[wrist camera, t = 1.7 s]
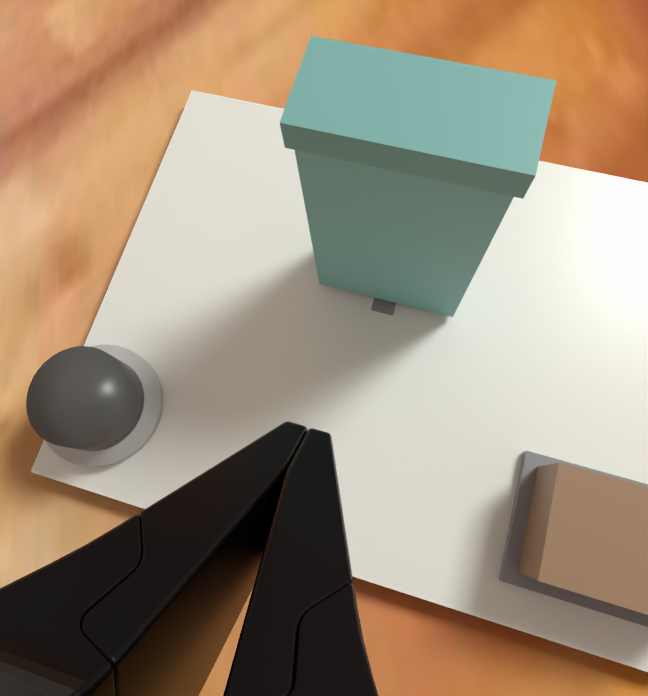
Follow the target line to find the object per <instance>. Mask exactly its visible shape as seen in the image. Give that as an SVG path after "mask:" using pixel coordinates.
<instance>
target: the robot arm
mask: <svg viewBox="0 0 648 696" xmlns="http://www.w3.org/2000/svg"><path fill="white" fill-rule="evenodd" d="M252 589H253V591H252V594H251V598H250V601H249V605H248V609H247V612H246V616H245V619H244V623H243V627H242V630H241V634H240V638H239V641H238V645H237V648H236V652H235V656H234V659H233V663H232V666H231V670H230V674H229V677H228V681H227V685H226V688H225V692H224V695H223V696H378V693H377V690H376V686H375V683H374V679H373V676H372V672H371V668H370V664H369V660H368V656H367V652H366V648H365V644H364V640H363V635H362V630H361V625H360V619H359V614H358V609H357V602H356V595H355V589H354V586H353V577H352V570H351V564H350V557H349V550H348V544H347V537H346V530H345V523H344V517H343V510H342V503H341V497H340V490H339V483H338V476H337V470H336V463H335V456H334V450H333V443H332V437H331V435H330V434H329V433H327V432H324V431H320V430H317V429H314V428H311V429H309V430H308V429H307V427H306V426H303V425H300V424H296V423H293V422H288V421H287V422H284V423H282V424H281V425H279V426H277V427H276V428H274V429H273V430H271V431H269V432H268V433H266V434H264V435H263V436H261V437H260V438H258V439H256V440H255V441H253V442H252V443H250V444H248V445H247V446H245V447H244V448H242V449H240V450H239V451H237V452H236V453H234V454H232V455H231V456H229V457H228V458H226V459H224V460H223V461H221V462H220V463H218V464H216V465H215V466H213V467H212V468H210V469H208V470H207V471H205V472H204V473H202V474H200V475H199V476H197V477H196V478H194V479H192V480H191V481H189V482H188V483H186V484H184V485H183V486H181V487H180V488H178V489H176V490H175V491H173V492H172V493H170V494H168V495H167V496H165V497H164V498H162V499H160V500H159V501H157V502H156V503H154V504H152V505H151V506H149V507H148V508H146V509H144V510H143V511H141V512H140V516H139V515H135V516H133V517H131V518H130V519H128V520H126V521H125V522H123V523H122V524H120V525H118V526H117V527H115V528H113V529H112V530H110V531H108V532H107V533H105V534H103V535H102V536H100V537H98V538H97V539H95V540H93V541H91V542H90V543H88V544H86V545H84V546H83V547H81V548H79V549H77V550H75V551H73V552H71V553H69V554H67V555H65V556H64V557H62V558H60V559H58V560H56V561H54V562H52V563H50V564H48V565H46V566H44V567H42V568H40V569H38V570H36V571H34V572H32V573H30V574H28V575H26V576H24V577H22V578H20V579H18V580H16V581H14V582H12V583H10V584H8V585H6V586H4V587H2V588H0V696H199V694H200V692H201V690H202V688H203V686H204V684H205V682H206V680H207V678H208V676H209V674H210V672H211V670H212V668H213V666H214V664H215V662H216V660H217V658H218V656H219V654H220V652H221V650H222V648H223V646H224V644H225V642H226V640H227V638H228V636H229V634H230V632H231V630H232V628H233V626H234V624H235V622H236V620H237V618H238V616H239V614H240V612H241V610H242V608H243V606H244V604H245V602H246V600H247V598H248V596H249V594H250V592H251V590H252Z"/></svg>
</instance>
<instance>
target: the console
mask: <svg viewBox="0 0 648 696" xmlns="http://www.w3.org/2000/svg"><path fill="white" fill-rule="evenodd" d="M283 112H284V109H282V108H277V107H272V106H267V105H262V104H257V103H252V102H248V101H243V100H238V99H233V98H228V97H223V96H218V95H213V94H208V93H203V92H198V91H193V90H192V91H191V94H190V96H189V98H188V101H187V103H186V105H185V108H184V110H183V112H182V115H181V117H180V120H179V122H178V124H177V127H176V129H175V131H174V134H173V136H172V138H171V141H170V143H169V145H168V148H167V150H166V153H165V155H164V157H163V160H162V162H161V164H160V167H159V169H158V171H157V174H156V176H155V179H154V181H153V183H152V186H151V188H150V190H149V193H148V195H147V197H146V200H145V202H144V205H143V207H142V209H141V212H140V214H139V216H138V219H137V221H136V223H135V226H134V228H133V230H132V233H131V235H130V238H129V240H128V242H127V245H126V247H125V249H124V252H123V254H122V256H121V259H120V261H119V264H118V266H117V268H116V271H115V273H114V275H113V278H112V280H111V282H110V285H109V287H108V290H107V292H106V294H105V297H104V299H103V301H102V304H101V306H100V308H99V311H98V313H97V316H96V318H95V320H94V323H93V325H92V327H91V330H90V332H89V334H88V337H87V339H86V341H85V344H84V346H79V347H73V348H69V349H66V350H63V351H61V352H59V353H57V354H55V355H54V356H52V357H51V358H50V359H48V360H47V361H46V362H45V363H44V364H43V365H42V366H41V367H40V368H39V370H38V371H37V372H36V374H35V375H34V377H33V379H32V381H31V384H30V386H29V389H28V394H27V401H26V405H27V414H28V418H29V421H30V423H31V425H32V427H33V428H34V430H35V431H36V432H37V433H38V435H39V436H41V437H42V438H43V439H44V441H43V443H42V445H41V448H40V450H39V452H38V455H37V457H36V460H35V462H34V464H33V467H32V469H31V471H30V472H32V473H35V474H38V475H41V476H44V477H48V478H51V479H54V480H57V481H60V482H63V483H66V484H69V485H72V486H75V487H78V488H81V489H85V490H88V491H91V492H94V493H97V494H100V495H103V496H106V497H109V498H112V499H115V500H118V501H122V502H125V503H128V504H131V505H134V506H137V507H140V508H143V509H146V508H148V507H149V506H151V505H152V504H154V503H156V502H157V501H159V500H160V499H162V498H164V497H165V496H167V495H168V494H170V493H172V492H173V491H175V490H176V489H178V488H180V487H181V486H183V485H184V484H186V483H188V482H189V481H191V480H192V479H194V478H196V477H197V476H199V475H200V474H202V473H204V472H205V471H207V470H208V469H210V468H212V467H213V466H215V465H216V464H218V463H220V462H221V461H223V460H224V459H226V458H228V457H229V456H231V455H232V454H234V453H236V452H237V451H239V450H240V449H242V448H244V447H245V446H247V445H248V444H250V443H252V442H253V441H255V440H256V439H258V438H260V437H261V436H263V435H264V434H266V433H268V432H269V431H271V430H273V429H274V428H276V427H277V426H279V425H281V424H282V423H284V422H287V421H288V422H293V423H296V424H300V425H303V426H306V427H307V429H308V430H309V429H311V428H314V429H317V430H320V431H324V432H327V433H329V434H330V435H331V437H332V443H333V450H334V456H335V463H336V470H337V476H338V483H339V490H340V497H341V503H342V510H343V517H344V523H345V530H346V537H347V544H348V550H349V557H350V564H351V570H352V576H353V577H356V578H359V579H362V580H365V581H368V582H371V583H374V584H377V585H381V586H384V587H387V588H390V589H393V590H396V591H399V592H402V593H405V594H408V595H411V596H414V597H418V598H421V599H424V600H427V601H430V602H433V603H436V604H439V605H442V606H445V607H448V608H451V609H455V610H458V611H461V612H464V613H467V614H470V615H473V616H476V617H479V618H482V619H485V620H488V621H492V622H495V623H498V624H501V625H504V626H507V627H510V628H513V629H516V630H519V631H522V632H525V633H529V634H532V635H535V636H538V637H541V638H544V639H547V640H550V641H553V642H556V643H559V644H562V645H566V646H569V647H572V648H575V649H578V650H581V651H584V652H587V653H590V654H593V655H596V656H599V657H603V658H606V659H609V660H612V661H615V662H618V663H621V664H624V665H627V666H630V667H633V668H636V669H640V670H643V671H646V672H648V183H646V182H641V181H636V180H631V179H626V178H621V177H616V176H611V175H606V174H602V173H597V172H592V171H587V170H582V169H577V168H572V167H567V166H562V165H557V164H552V163H547V162H543V161H539V162H538V167H537V172H536V176H535V178H534V180H533V182H532V183H531V185H530V187H529V189H528V191H527V193H526V194H525V196H524V198H523V199H522V198H517V197H514V198H513V200H512V202H511V204H510V206H509V208H508V210H507V211H506V213H505V215H504V217H503V219H502V221H501V223H500V225H499V227H498V229H497V231H496V233H495V235H494V237H493V239H492V241H491V243H490V245H489V247H488V249H487V251H486V253H485V255H484V257H483V259H482V261H481V263H480V265H479V267H478V269H477V271H476V272H475V274H474V276H473V278H472V280H471V282H470V284H469V286H468V288H467V290H466V292H465V294H464V296H463V298H462V300H461V302H460V304H459V306H458V308H457V310H456V312H455V314H454V316H453V317H450V316H446V315H442V314H438V313H434V312H430V311H426V310H422V309H418V308H414V307H410V306H406V305H402V304H398V303H394V302H390V301H386V300H382V299H378V298H374V297H370V296H366V295H362V294H358V293H354V292H350V291H346V290H342V289H338V288H334V287H330V286H326V285H322V284H319V279H318V273H317V268H316V263H315V257H314V252H313V247H312V241H311V236H310V230H309V225H308V220H307V214H306V209H305V204H304V198H303V193H302V188H301V182H300V177H299V172H298V166H297V161H296V155H295V150H293V149H288V148H285V146H284V142H283V137H282V132H281V127H280V120H281V117H282V114H283Z"/></svg>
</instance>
